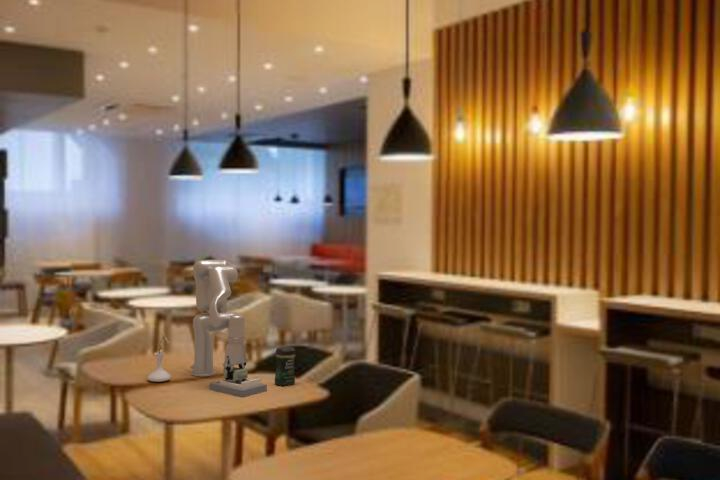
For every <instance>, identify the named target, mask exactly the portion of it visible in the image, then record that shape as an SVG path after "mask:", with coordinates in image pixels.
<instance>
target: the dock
mask: <svg viewBox="0 0 720 480" xmlns="http://www.w3.org/2000/svg"><path fill="white" fill-rule="evenodd" d="M209 390H211V391H214V392H219V393H223V394H227V395H232V396H236V397H241V398H245V397H249V396H252V395H253V396H254V395H257V394H261V393H264V392H267V391H268V384H265V383H262V378H255V379H249V378H246V380H245V381H242V379H241V380H240V381H239V382H238V383H237V382H236V381H235V379H233V380H226V379H222V380H217V381H213V382H210V383H209Z"/></svg>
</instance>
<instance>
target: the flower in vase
mask: <svg viewBox="0 0 720 480" xmlns="http://www.w3.org/2000/svg"><path fill="white" fill-rule="evenodd" d="M160 333H161V335H162V338H161V340H160V342H159V345H158V349H157V351H158V352H154V355H155V357H156V367H155V369H154V370H153V371H152V372H151V373H149V374H148V375H147V380H148V381H150V382H153V383H154V382H156V383H160V382H161V383H162V382H166V381H168V380H169V381H170V380H171V378H172V376H171V374H170V373H169V372H168V371H166V370H164V368H163V365H162V363H163V357H164V355H165V354H166V353H165V352H161V351H160V350H162V349H163V347H162V345H161V343H162V341H163V340H165V341H166V343H167V344H170V341H169V339H168V338H167V335H166V334H165V333H164V330H162V329H160Z"/></svg>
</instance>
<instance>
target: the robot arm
mask: <svg viewBox="0 0 720 480" xmlns="http://www.w3.org/2000/svg"><path fill="white" fill-rule="evenodd" d="M192 272H193V278H194V280H195V305H196V309H197V310H198V311H201V312H203V313H199V314H197V315H195V316H194V317H193V320H192V326H193V332H194V356H193V358H194V361H193V362H194V363H193V364H192V365H190V366H189V367H190V369H192V370H191V372H190V375H191V376H193V377H212V376H215V375H216V373H217V372H216V370H214V338H213V337H212V335H211V334H210V332H218V331H219V332H220V331H224V330H225V329H227V331H228V332H227V333H228V334H227V344H226V346H225V351H224V352H225V353H224V361H223V363H222V366H223V368H224V367H225V369H226V371H227V379H229V380H233V371H232V369H233V366H234V367H235V366H238V368H241V369H246V368H245V367H246V366H247V363H248V362H249V359H248V358H247V355H246V354H247V350H246V343H245V340H246V338H245V316H244V315H243V314H240V313H239V312H236V311H235V312H234V311H233V312H232V311H231V312H230V311H229V312H228V298H229V297H230V296H231V295H232V290H231V285H230V283H235V282H236V281H237V280H238V278H239V272H238V270H237V267H236V266H235V265H234V264H232V263H231V262H229V260H227V259H201V260H197V261H196V262H195V263H194V265H193V270H192ZM204 311H205V312H207V311H209V312H207V313H205V312H204ZM230 366H231V367H230Z"/></svg>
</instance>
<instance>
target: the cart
mask: <svg viewBox="0 0 720 480" xmlns="http://www.w3.org/2000/svg"><path fill="white" fill-rule="evenodd" d="M230 367H231V366H230ZM232 371H233V379H235V381H236V382H237V383H238V382H239V381H240V380H241V379H242V381H245V380H246V379H248V375H249V374H248V369H246V368H244V369H241V368H239V367H236V366H235V365H234V366H233V369H232ZM223 378H224V380H229V379H227V371H226V369H225V367H224V366H223Z"/></svg>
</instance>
